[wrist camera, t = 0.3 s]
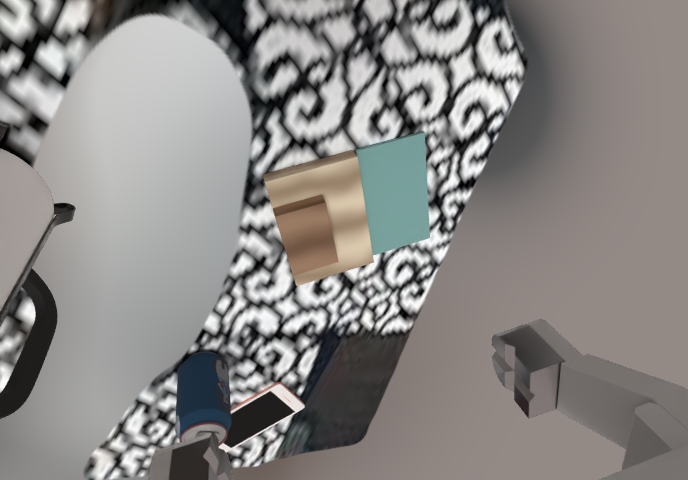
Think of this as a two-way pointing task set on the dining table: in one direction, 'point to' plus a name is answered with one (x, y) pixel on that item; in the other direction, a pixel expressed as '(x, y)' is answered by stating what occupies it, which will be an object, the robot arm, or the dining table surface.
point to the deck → (329, 207)
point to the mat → (395, 191)
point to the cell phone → (260, 414)
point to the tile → (306, 234)
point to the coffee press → (25, 264)
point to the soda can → (203, 397)
